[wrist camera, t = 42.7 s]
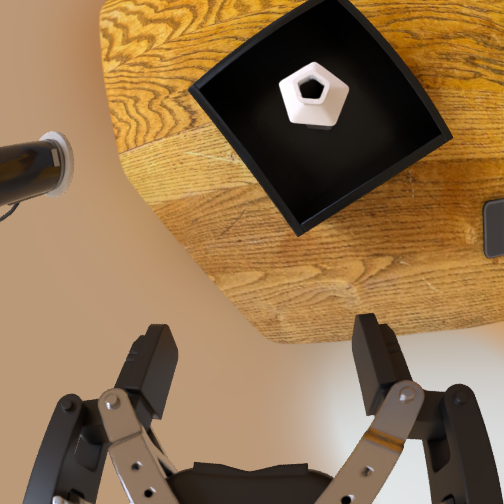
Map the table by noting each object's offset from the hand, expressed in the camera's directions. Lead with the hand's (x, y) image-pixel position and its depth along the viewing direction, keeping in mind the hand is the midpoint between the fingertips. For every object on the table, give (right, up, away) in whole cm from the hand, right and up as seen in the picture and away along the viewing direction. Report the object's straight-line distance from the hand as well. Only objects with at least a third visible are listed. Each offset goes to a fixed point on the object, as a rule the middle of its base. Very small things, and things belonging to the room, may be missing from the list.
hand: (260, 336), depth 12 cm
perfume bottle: (+7, +18, +16) cm, 25 cm away
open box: (+7, +18, +17) cm, 26 cm away
